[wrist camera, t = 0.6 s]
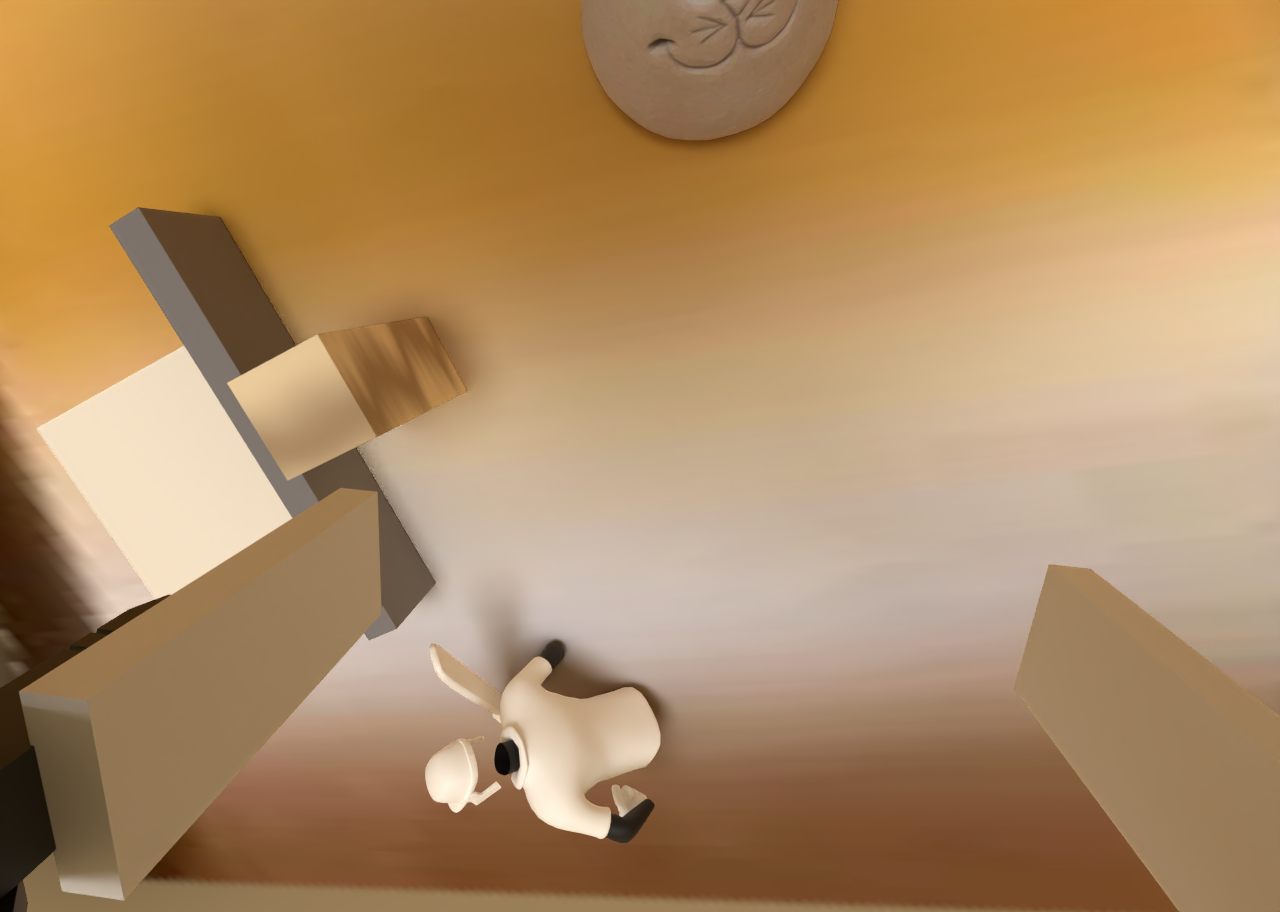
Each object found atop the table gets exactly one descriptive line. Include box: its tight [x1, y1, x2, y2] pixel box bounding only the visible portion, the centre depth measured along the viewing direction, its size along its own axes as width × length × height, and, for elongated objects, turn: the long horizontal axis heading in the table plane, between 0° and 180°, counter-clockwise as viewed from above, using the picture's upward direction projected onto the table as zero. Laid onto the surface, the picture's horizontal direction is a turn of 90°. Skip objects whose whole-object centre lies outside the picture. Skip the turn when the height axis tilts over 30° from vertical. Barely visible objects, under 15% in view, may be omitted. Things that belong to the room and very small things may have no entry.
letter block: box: [227, 317, 467, 481], centre depth 35 cm, size 5×5×12 cm
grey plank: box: [109, 207, 435, 640], centre depth 40 cm, size 26×2×6 cm, turn 26°
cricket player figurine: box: [425, 642, 661, 843], centre depth 40 cm, size 13×10×15 cm
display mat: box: [36, 346, 292, 599], centre depth 44 cm, size 15×15×1 cm
